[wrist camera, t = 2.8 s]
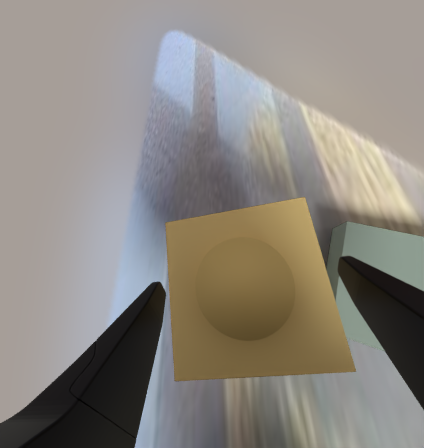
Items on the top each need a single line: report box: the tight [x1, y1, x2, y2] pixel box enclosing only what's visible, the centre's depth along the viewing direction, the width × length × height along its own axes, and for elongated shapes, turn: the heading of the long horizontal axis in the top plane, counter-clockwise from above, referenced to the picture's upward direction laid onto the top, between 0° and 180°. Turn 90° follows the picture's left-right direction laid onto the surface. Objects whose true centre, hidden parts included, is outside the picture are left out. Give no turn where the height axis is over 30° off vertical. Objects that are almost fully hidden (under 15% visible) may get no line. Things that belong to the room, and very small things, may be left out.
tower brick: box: [165, 197, 356, 381], centre depth 11 cm, size 4×4×13 cm
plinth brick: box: [326, 221, 424, 351], centre depth 13 cm, size 8×8×2 cm
